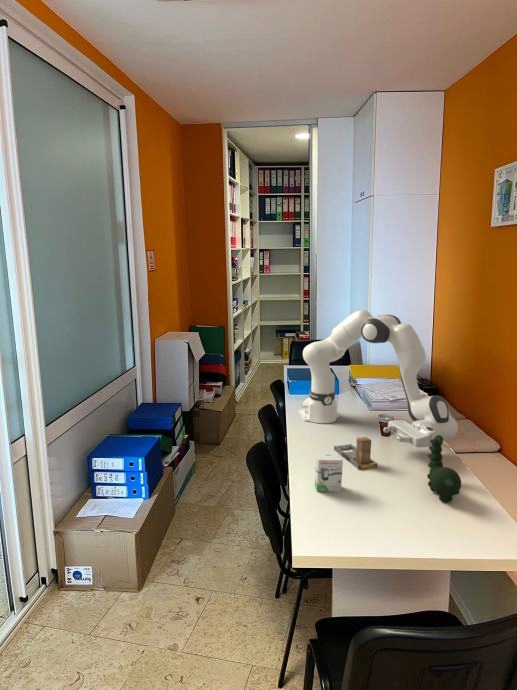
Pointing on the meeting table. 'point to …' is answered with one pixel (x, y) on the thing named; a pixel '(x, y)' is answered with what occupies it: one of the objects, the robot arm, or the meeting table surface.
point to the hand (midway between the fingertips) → (391, 434)
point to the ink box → (328, 472)
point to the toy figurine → (442, 473)
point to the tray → (353, 457)
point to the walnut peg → (363, 450)
